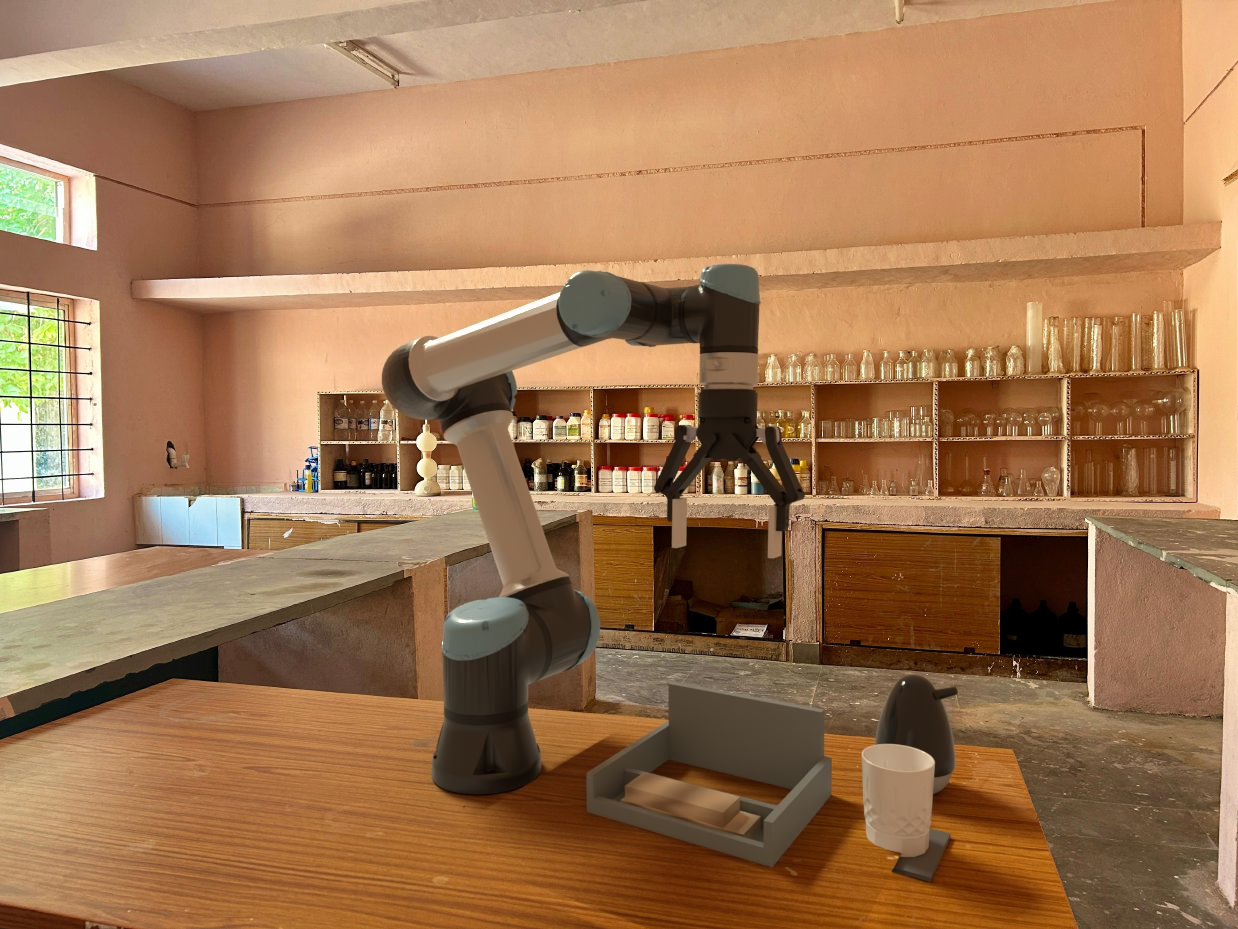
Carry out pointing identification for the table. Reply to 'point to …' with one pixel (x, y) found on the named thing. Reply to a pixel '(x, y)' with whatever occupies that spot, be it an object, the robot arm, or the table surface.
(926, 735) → the pump dispenser
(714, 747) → the rack
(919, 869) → the mat
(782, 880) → the table surface
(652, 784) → the upper offcut
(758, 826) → the block
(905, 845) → the white cup
